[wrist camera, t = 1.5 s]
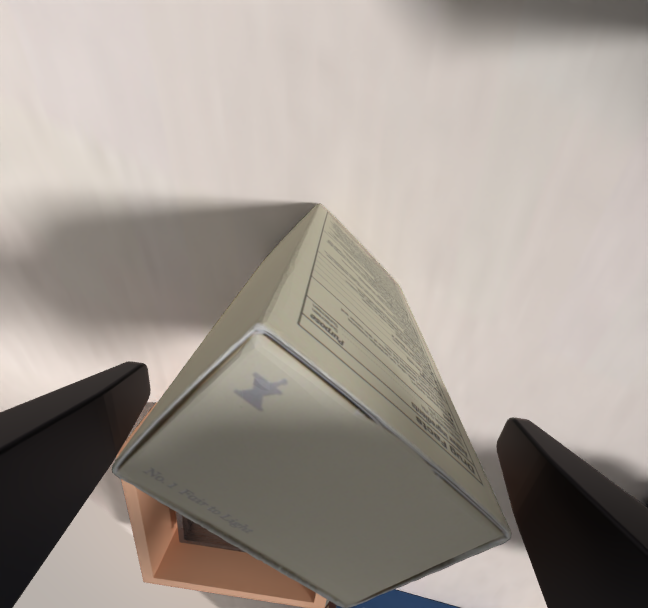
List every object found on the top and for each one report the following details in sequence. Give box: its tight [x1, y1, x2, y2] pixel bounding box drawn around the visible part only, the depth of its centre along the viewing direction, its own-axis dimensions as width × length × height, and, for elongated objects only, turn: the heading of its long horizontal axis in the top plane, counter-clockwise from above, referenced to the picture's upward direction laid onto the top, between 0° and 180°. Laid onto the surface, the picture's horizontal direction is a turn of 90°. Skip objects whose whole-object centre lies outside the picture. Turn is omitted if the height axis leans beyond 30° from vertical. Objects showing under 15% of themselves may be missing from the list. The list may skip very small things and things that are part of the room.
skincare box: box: [112, 204, 511, 608], centre depth 11 cm, size 6×4×12 cm
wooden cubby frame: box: [116, 403, 327, 608], centre depth 22 cm, size 13×13×4 cm
